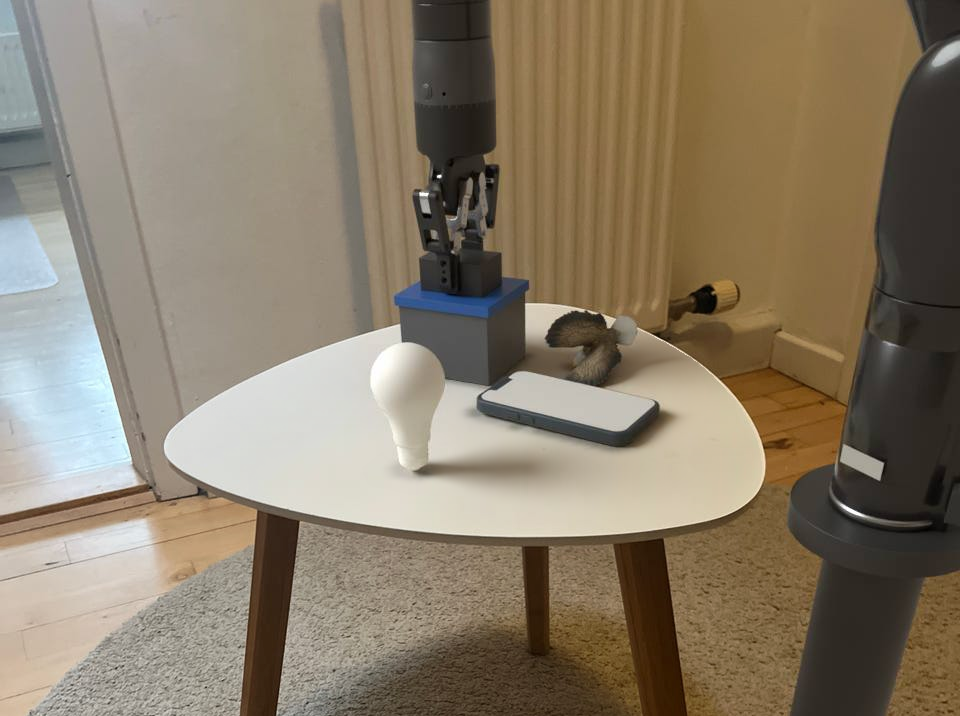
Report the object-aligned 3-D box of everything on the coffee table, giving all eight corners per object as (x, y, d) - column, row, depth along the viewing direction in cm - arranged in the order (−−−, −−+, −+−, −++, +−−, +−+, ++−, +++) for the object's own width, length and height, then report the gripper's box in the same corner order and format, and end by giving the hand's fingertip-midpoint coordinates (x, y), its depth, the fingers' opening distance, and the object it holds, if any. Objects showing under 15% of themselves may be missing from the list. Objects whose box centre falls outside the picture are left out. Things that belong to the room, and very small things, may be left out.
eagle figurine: (563, 340, 106) (527, 352, 99) (603, 286, 102) (568, 294, 95) (613, 388, 105) (581, 403, 98) (656, 336, 101) (625, 348, 94)
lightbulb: (408, 447, 89) (399, 326, 82) (463, 464, 86) (458, 339, 79) (364, 474, 85) (350, 349, 78) (420, 492, 82) (411, 364, 75)
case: (502, 284, 100) (501, 252, 98) (482, 298, 97) (481, 264, 95) (442, 277, 103) (440, 245, 101) (420, 290, 100) (418, 257, 98)
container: (529, 355, 106) (529, 279, 101) (490, 387, 99) (488, 308, 94) (443, 342, 110) (439, 269, 105) (399, 372, 103) (393, 295, 98)
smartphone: (663, 416, 93) (517, 382, 100) (665, 400, 92) (517, 367, 99) (623, 453, 87) (470, 414, 94) (624, 436, 86) (470, 398, 93)
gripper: (454, 108, 83) (462, 311, 93) (524, 85, 93) (524, 269, 103) (378, 105, 86) (394, 301, 96) (454, 82, 96) (461, 262, 106)
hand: (461, 284), depth 100 cm, fingers closed on case, 4 cm apart
